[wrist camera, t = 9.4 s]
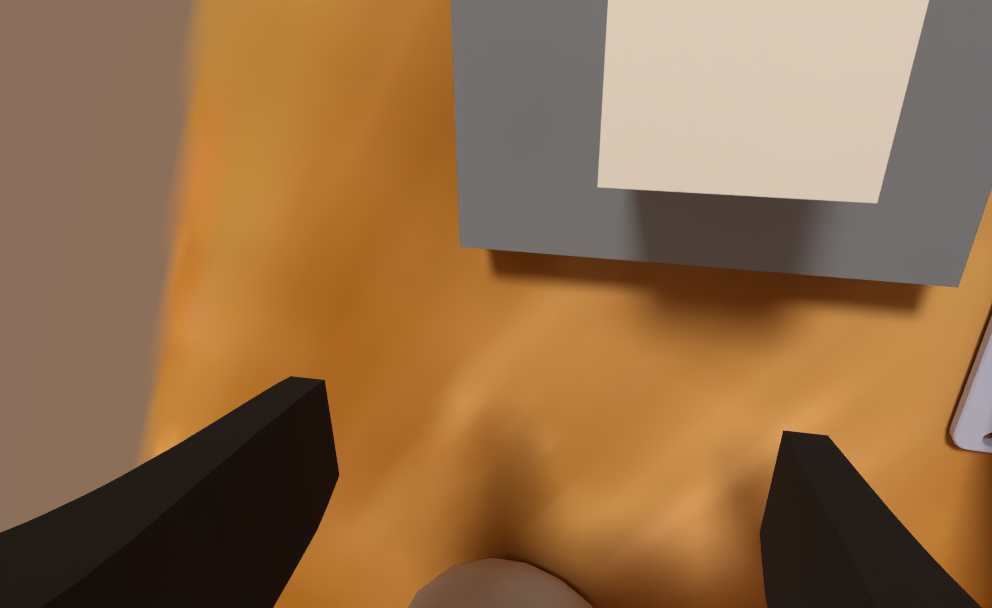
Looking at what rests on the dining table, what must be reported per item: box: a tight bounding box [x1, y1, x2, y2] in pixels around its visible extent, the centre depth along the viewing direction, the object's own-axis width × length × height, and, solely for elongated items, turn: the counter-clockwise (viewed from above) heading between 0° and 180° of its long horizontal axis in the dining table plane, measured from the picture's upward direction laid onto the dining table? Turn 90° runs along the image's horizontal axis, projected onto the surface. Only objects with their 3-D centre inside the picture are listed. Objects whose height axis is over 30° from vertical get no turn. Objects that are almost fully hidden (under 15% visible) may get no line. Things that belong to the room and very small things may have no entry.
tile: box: [451, 0, 992, 287], centre depth 16 cm, size 12×12×2 cm
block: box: [597, 0, 929, 203], centre depth 12 cm, size 4×4×6 cm
